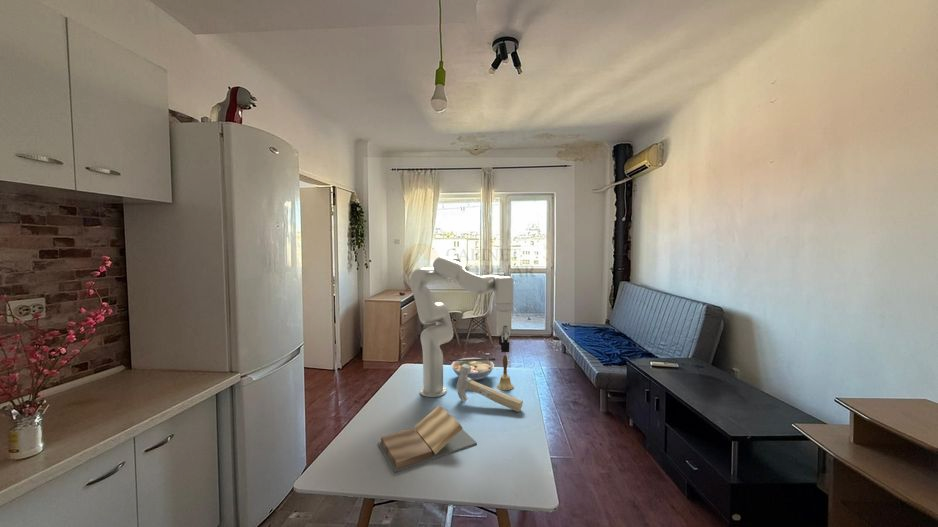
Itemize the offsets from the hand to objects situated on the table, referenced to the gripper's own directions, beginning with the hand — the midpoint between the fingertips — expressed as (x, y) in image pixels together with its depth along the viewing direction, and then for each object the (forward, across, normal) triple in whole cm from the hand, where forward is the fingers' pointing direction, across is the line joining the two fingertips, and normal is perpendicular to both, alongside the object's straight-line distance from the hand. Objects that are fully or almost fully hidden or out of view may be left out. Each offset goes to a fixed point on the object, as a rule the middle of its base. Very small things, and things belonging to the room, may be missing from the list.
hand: (504, 348), depth 142 cm
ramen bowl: (+28, -40, -13) cm, 51 cm away
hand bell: (+28, -29, +3) cm, 40 cm away
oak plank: (+24, +18, -25) cm, 39 cm away
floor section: (+28, +21, -29) cm, 45 cm away
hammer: (+28, -9, -6) cm, 30 cm away
